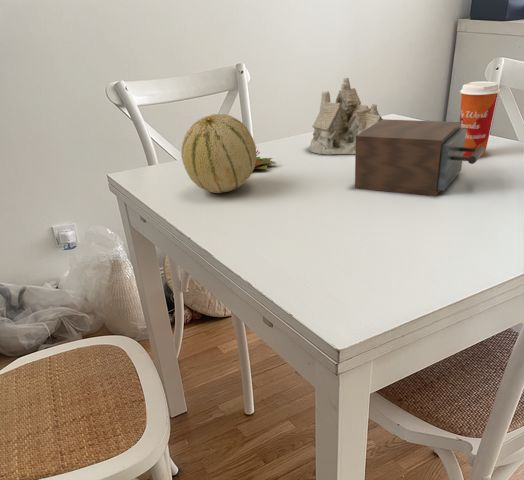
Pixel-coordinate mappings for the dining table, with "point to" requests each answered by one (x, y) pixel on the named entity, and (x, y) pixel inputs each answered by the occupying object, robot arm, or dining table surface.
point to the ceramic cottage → (341, 122)
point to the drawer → (455, 157)
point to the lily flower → (262, 162)
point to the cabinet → (401, 155)
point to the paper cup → (477, 112)
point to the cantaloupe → (218, 153)
